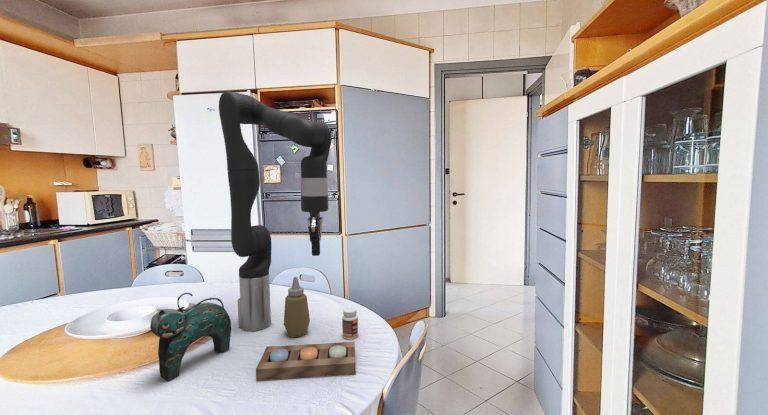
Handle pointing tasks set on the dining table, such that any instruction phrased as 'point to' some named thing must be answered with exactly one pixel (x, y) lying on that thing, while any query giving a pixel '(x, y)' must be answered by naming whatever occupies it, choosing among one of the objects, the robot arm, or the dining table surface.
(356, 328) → the pill bottle
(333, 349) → the sage green button
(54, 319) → the dining table surface
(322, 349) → the walnut button panel
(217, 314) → the ceramic cat
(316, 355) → the orange button
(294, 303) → the squeeze bottle
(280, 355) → the slate blue button
